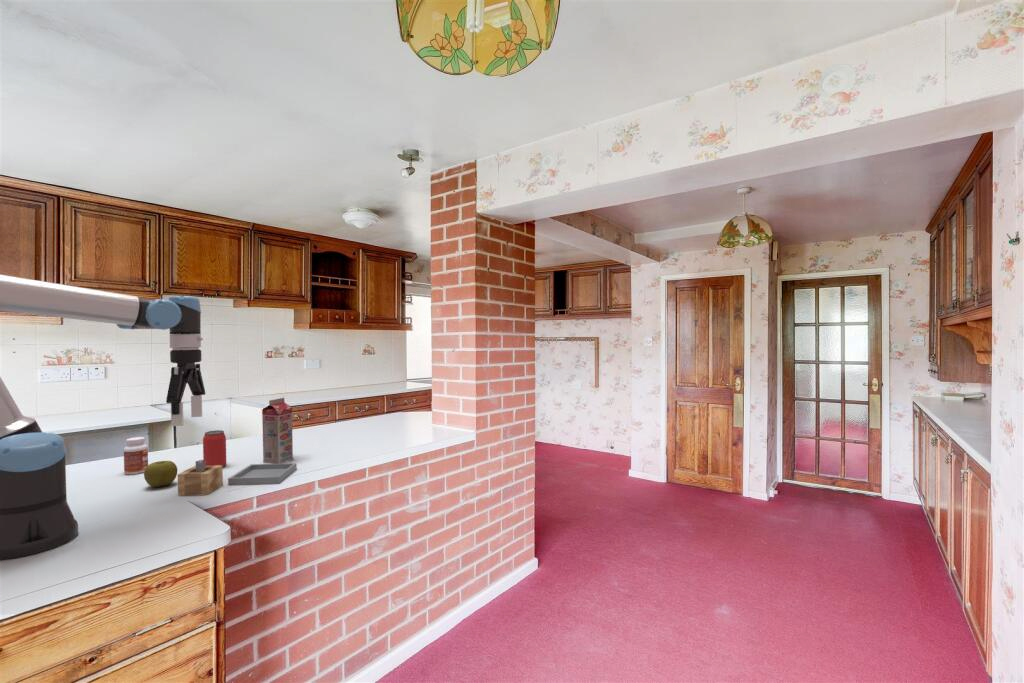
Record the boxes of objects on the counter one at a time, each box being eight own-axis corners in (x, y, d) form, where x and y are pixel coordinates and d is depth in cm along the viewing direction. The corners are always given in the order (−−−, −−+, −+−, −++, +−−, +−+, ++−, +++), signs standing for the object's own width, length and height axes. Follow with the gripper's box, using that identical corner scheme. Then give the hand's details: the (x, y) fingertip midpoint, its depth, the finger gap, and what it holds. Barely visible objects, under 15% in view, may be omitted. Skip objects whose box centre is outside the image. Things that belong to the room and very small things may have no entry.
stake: (203, 491, 135) (202, 462, 135) (194, 491, 135) (193, 462, 135) (207, 488, 138) (207, 459, 138) (199, 488, 138) (198, 460, 137)
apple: (143, 485, 141) (143, 462, 140) (176, 479, 146) (176, 457, 146) (145, 492, 135) (144, 467, 135) (179, 486, 140) (178, 462, 140)
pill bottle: (147, 472, 153) (146, 439, 152) (123, 476, 149) (122, 441, 149) (149, 468, 158) (148, 435, 158) (125, 471, 155) (124, 437, 154)
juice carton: (263, 462, 164) (262, 400, 163) (277, 457, 170) (276, 397, 170) (278, 464, 162) (277, 400, 161) (292, 459, 168) (291, 398, 168)
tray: (278, 483, 142) (278, 477, 142) (228, 485, 141) (228, 478, 141) (296, 469, 157) (296, 463, 156) (250, 470, 155) (250, 464, 155)
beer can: (199, 468, 157) (198, 433, 157) (219, 463, 163) (218, 429, 163) (210, 471, 154) (209, 435, 154) (230, 466, 160) (229, 431, 160)
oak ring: (207, 494, 133) (207, 473, 133) (178, 495, 132) (177, 474, 132) (222, 485, 141) (222, 465, 141) (194, 485, 140) (194, 466, 140)
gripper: (182, 350, 126) (184, 429, 127) (215, 347, 150) (217, 412, 151) (149, 351, 124) (151, 430, 125) (189, 347, 149) (190, 413, 149)
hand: (187, 421), depth 138 cm, fingers open, 13 cm apart
